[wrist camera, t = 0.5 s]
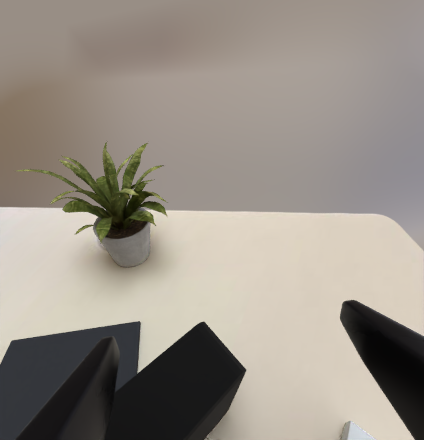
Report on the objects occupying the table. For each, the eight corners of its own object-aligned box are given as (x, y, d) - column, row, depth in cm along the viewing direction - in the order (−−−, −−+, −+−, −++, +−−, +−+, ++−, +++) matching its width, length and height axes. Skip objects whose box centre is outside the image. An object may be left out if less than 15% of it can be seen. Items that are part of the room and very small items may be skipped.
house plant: (66, 320, 26) (-29, 203, 15) (70, 240, 36) (14, 134, 25) (186, 279, 30) (176, 167, 20) (161, 218, 40) (145, 121, 30)
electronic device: (230, 407, 20) (249, 366, 14) (122, 538, 15) (73, 568, 8) (200, 367, 22) (204, 316, 16) (96, 467, 17) (42, 449, 11)
